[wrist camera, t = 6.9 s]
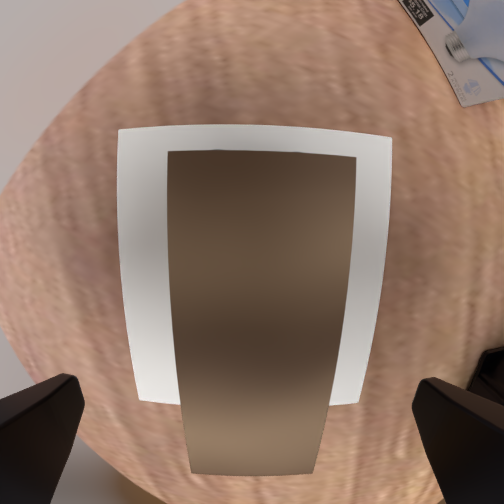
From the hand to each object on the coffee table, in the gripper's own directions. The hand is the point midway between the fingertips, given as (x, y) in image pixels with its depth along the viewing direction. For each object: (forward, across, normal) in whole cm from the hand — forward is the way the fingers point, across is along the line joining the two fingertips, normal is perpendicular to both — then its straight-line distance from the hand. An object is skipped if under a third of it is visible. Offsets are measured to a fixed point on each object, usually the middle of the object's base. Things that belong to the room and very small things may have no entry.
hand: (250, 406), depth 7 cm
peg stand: (+10, 0, 0) cm, 10 cm away
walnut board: (+7, 0, 0) cm, 7 cm away
